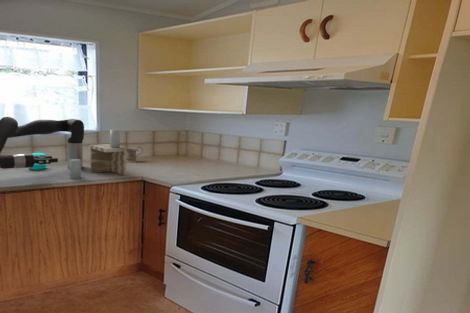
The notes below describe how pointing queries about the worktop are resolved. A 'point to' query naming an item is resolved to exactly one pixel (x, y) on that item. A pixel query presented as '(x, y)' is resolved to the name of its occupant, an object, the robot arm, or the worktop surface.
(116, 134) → the pale grey cylinder
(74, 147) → the robot arm
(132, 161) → the mug
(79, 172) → the grey-green short column
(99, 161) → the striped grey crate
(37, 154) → the teal spool
